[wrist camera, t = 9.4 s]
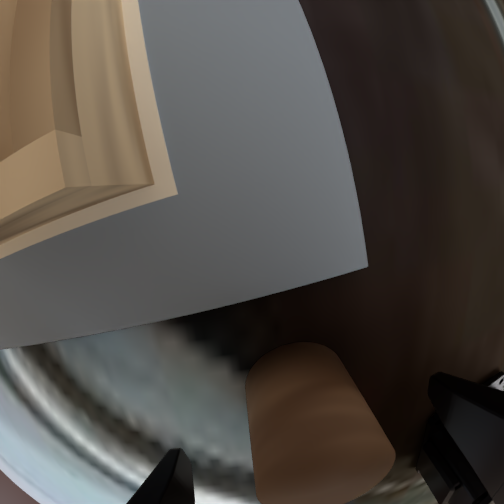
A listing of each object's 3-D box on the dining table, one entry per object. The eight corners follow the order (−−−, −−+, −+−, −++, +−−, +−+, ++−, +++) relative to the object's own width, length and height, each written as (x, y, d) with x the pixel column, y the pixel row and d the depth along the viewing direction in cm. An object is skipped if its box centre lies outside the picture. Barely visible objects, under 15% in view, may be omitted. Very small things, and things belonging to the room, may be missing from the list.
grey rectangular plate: (251, -73, 6) (253, -88, 5) (355, 258, 10) (369, 267, 9) (-63, 82, 6) (-75, 79, 5) (-20, 344, 10) (-31, 354, 8)
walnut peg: (338, 328, 10) (400, 416, 6) (346, 402, 11) (389, 486, 7) (233, 357, 10) (238, 465, 6) (258, 427, 11) (272, 521, 6)
